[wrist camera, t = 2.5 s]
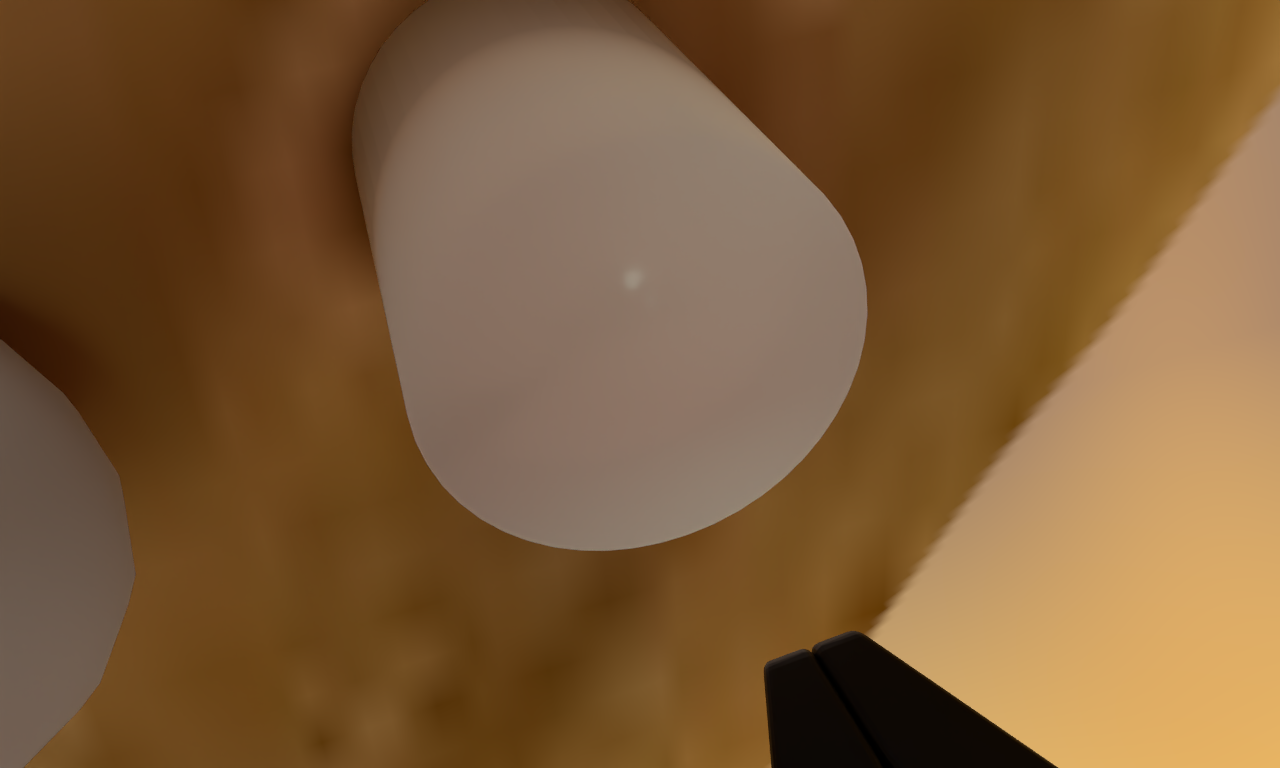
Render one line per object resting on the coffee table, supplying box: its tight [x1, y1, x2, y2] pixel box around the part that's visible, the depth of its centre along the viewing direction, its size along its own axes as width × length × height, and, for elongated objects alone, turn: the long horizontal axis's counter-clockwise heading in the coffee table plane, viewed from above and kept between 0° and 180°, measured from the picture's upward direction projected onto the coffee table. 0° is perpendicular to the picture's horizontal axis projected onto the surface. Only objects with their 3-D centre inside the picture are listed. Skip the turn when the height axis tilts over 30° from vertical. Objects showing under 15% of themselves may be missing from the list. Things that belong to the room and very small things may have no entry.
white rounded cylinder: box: [352, 0, 867, 551], centre depth 17 cm, size 6×6×7 cm
